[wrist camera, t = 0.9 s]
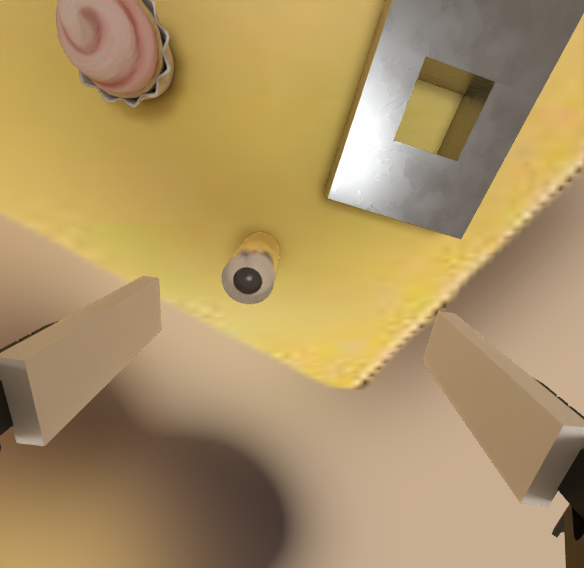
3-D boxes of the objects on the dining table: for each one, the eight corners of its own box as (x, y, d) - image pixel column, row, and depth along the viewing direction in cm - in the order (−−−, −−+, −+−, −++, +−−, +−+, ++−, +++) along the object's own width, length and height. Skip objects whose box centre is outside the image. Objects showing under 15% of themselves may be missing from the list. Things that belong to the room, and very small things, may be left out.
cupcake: (178, 131, 31) (127, 116, 22) (92, 91, 30) (-1, 58, 20) (202, 31, 27) (153, -36, 18) (105, -19, 26) (0, -118, 17)
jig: (394, -28, 25) (415, -71, 21) (539, 29, 27) (590, 1, 22) (323, 193, 33) (327, 198, 28) (439, 229, 34) (461, 239, 30)
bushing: (245, 227, 35) (226, 249, 26) (284, 238, 35) (279, 264, 26) (237, 263, 37) (217, 296, 27) (274, 273, 37) (266, 309, 28)
